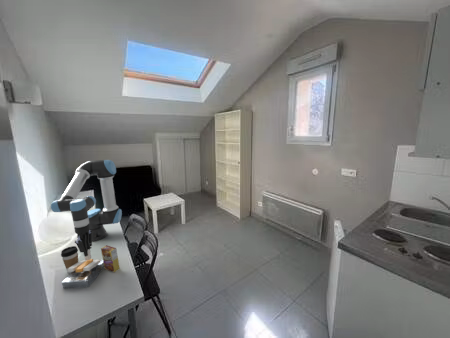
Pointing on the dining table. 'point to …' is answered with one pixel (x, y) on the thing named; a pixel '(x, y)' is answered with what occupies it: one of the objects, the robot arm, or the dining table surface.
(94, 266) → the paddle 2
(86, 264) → the long orange bar
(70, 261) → the coffee cup
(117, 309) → the dining table surface
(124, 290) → the dining table surface
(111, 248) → the candy box
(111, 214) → the robot arm
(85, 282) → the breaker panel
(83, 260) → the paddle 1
